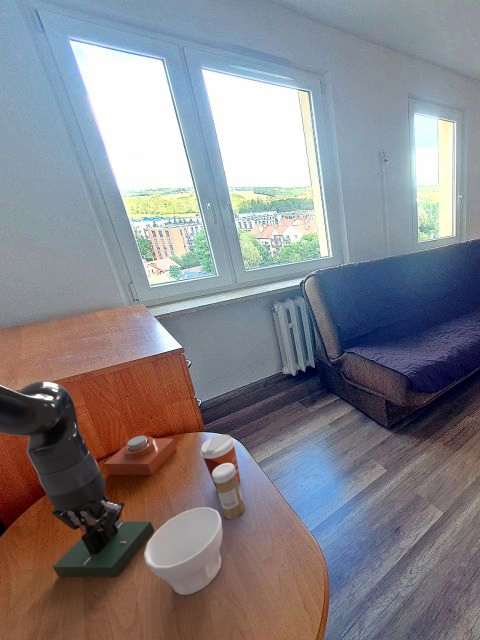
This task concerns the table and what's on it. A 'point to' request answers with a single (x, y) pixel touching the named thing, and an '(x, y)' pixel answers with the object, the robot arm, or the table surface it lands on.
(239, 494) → the sprinkles bottle
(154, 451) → the domed button plate
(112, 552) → the dial panel
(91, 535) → the dial knob
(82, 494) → the robot arm
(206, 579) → the cup
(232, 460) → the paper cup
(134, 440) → the grey push button
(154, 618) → the table surface
